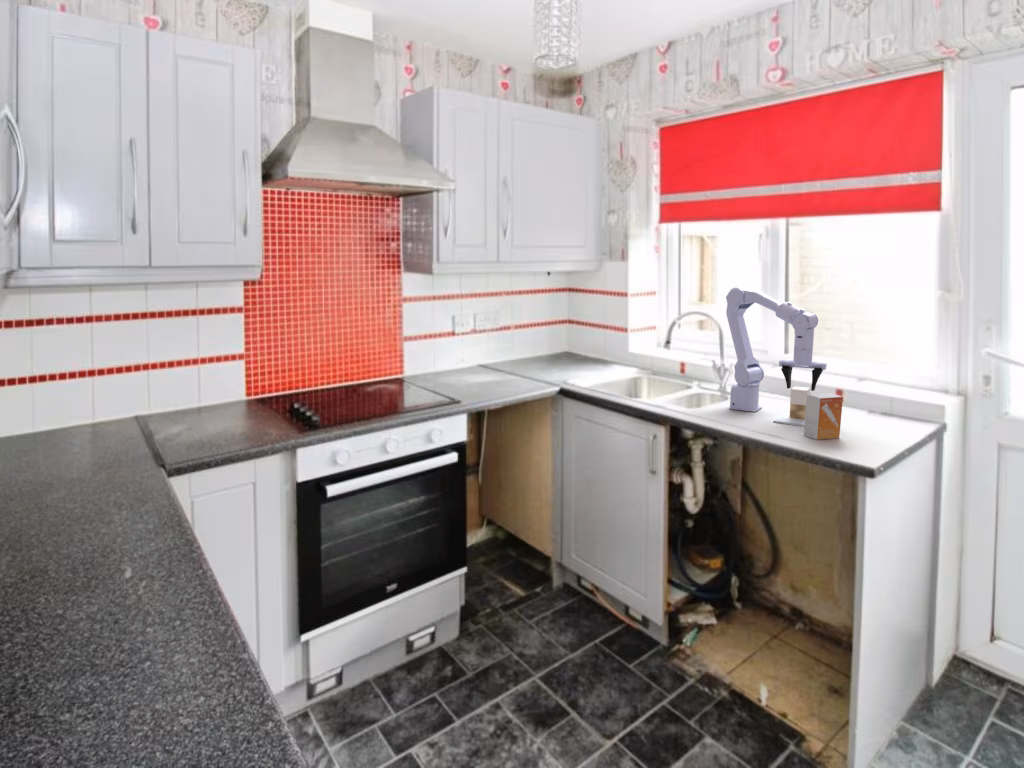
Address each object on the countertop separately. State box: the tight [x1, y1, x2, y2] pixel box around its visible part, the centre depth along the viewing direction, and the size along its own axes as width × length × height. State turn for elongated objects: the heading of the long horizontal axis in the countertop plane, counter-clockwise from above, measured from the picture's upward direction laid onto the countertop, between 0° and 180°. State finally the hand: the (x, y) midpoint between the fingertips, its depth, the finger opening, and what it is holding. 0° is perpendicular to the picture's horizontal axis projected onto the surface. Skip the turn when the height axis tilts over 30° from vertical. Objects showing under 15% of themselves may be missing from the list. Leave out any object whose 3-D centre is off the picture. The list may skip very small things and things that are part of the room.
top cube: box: [789, 386, 811, 405], centre depth 220 cm, size 5×5×5 cm
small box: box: [803, 392, 844, 441], centre depth 199 cm, size 8×6×13 cm
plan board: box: [773, 411, 805, 427], centre depth 221 cm, size 12×15×1 cm
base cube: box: [789, 403, 806, 420], centre depth 221 cm, size 5×5×5 cm
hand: (800, 389), depth 220 cm, fingers open, 7 cm apart
